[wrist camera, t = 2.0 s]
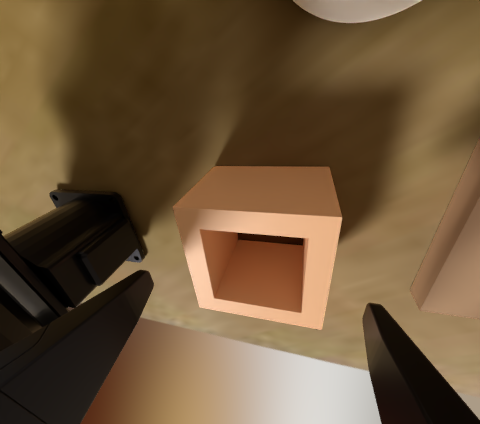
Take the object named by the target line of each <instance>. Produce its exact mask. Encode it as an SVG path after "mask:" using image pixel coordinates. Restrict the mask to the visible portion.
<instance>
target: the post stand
mask: <svg viewBox="0 0 480 424" xmlns="http://www.w3.org/2000/svg"><path fill="white" fill-rule="evenodd" d="M410 292H411V294H412V296H413V298H414V300H415V302H416V304H417V306H418V308H419V310H420V311H426V312H433V313H439V314H446V315H453V316H460V317H467V318H473V319H480V138H479V140H478V142H477V144H476V146H475V148H474V151H473V153H472V155H471V157H470V159H469V162H468V164H467V166H466V168H465V170H464V173H463V175H462V177H461V179H460V181H459V183H458V186H457V188H456V190H455V192H454V194H453V197H452V199H451V201H450V203H449V205H448V208H447V210H446V212H445V214H444V216H443V218H442V221H441V223H440V225H439V227H438V229H437V232H436V234H435V236H434V238H433V240H432V242H431V245H430V247H429V249H428V251H427V253H426V256H425V258H424V260H423V262H422V264H421V267H420V269H419V271H418V273H417V275H416V277H415V280H414V282H413V284H412V286H411V288H410Z"/></svg>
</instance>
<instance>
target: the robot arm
mask: <svg viewBox="0 0 480 424" xmlns="http://www.w3.org/2000/svg"><path fill="white" fill-rule="evenodd" d="M50 198H51V199H52V201H53V203H54V204H55V206H56V209H54V210H52V211H50V212H48V213H46V214H44V215H43V216H41V217H39V218H37V219H35V220H33V221H31V222H29V223H27V224H26V225H24V226H22V227H20V228H18V229H16V230H14V231H12V232H10V233H8V234H7V235H5V236H2V233H3V232H2V231H1V230H0V424H80V423H81V421H82V420H83V418H84V416H85V414H86V412H87V411H88V409H89V407H90V406H91V404H92V402H93V400H94V398H95V397H96V395H97V393H98V391H99V390H100V388H101V386H102V384H103V382H104V380H105V379H106V377H107V375H108V374H109V372H110V370H111V368H112V366H113V365H114V363H115V361H116V359H117V357H118V356H119V354H120V352H121V351H122V349H123V347H124V345H125V344H126V342H127V340H128V338H129V336H130V335H131V333H132V331H133V329H134V328H135V326H136V324H137V322H138V320H139V318H140V316H141V314H142V312H143V309H144V307H145V305H146V303H147V301H148V298H149V296H150V294H151V292H152V289H153V286H154V283H153V280H152V278H151V275H150V273H149V272H148V271H146V270H138V271H137V272H135V273H133V274H131V275H130V276H128V277H126V278H125V279H123V280H121V281H120V282H118V283H116V284H115V285H113V286H111V287H110V288H108V289H106V290H105V291H103V292H101V293H100V294H98V295H96V296H95V297H93V298H91V299H89V300H88V301H86V302H84V303H83V304H81V305H79V304H80V303H81V302H82V301H83V300H84V299H85V298H86V297H87V296H88V295H89V294H90V293H91V292H92V291H93V290H94V289H95V288H96V287H97V286H101V285H102V284H103V283H104V282H105V281H106V280H107V279H108V278H109V277H110V276H111V275H112V274H113V273H114V272H115V271H116V270H117V269H118V268H119V267H120V266H121V265H122V264H123V263H124V262H125V261H131V262H142V260H143V259H144V258H145V256H144V253H143V251H142V248H141V246H140V243H139V241H138V238H137V236H136V233H135V231H134V228H133V226H132V223H131V221H130V218H129V215H128V213H127V210H126V208H125V205H124V203H123V200H122V198H121V196H120V195H119V194H117V193H115V192H97V191H74V190H54V191H52V192H50ZM78 305H79V306H78ZM77 306H78V307H77ZM68 307H72V308H74V309H73V310H71V311H69V310H68V309H67V308H68ZM363 329H364V337H365V345H366V353H367V360H368V367H369V372H370V377H371V381H372V385H373V389H374V394H375V398H376V402H377V406H378V411H379V415H380V419H381V423H382V424H480V420H479V419H478V417H477V416H476V415H475V414H474V413H473V412H472V410H471V409H470V408H469V407H468V406H467V404H466V403H465V402H464V401H463V400H462V399H461V397H460V396H459V395H458V394H457V393H456V392H455V390H454V389H453V388H452V387H451V386H450V385H449V383H448V382H447V381H446V380H445V379H444V377H443V376H442V375H441V374H440V373H439V372H438V370H437V369H436V368H435V367H434V366H433V365H432V363H431V362H430V361H429V360H428V359H427V358H426V356H425V355H424V354H423V353H422V352H421V350H420V349H419V348H418V347H417V346H416V345H415V343H414V342H413V341H412V340H411V339H410V338H409V336H408V335H407V334H406V333H405V332H404V331H403V329H402V328H401V327H400V326H399V325H398V323H397V322H396V321H395V320H394V319H393V318H392V316H391V315H390V314H389V313H388V312H387V311H386V309H385V308H384V307H383V306H382V305H380V304H375V303H368V304H367V306H366V309H365V312H364V315H363Z"/></svg>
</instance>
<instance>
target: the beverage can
mask: <svg viewBox="0 0 480 424" xmlns="http://www.w3.org/2000/svg"><path fill="white" fill-rule="evenodd" d="M293 1H294V2H295V3H296V4H297V5H298V6H300V7H301V8H302V9H304V10H305V11H307V12H309V13H311V14H313V15H315V16H317V17H319V18H322V19H325V20H329V21H333V22H340V23H360V22H368V21H373V20H377V19H381V18H384V17H387V16H390V15H393V14H396V13H398V12H400V11H403V10H405V9H407V8H409V7H411V6H413V5H415V4H417V3H418V2H420V1H422V0H293Z"/></svg>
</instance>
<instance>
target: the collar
mask: <svg viewBox="0 0 480 424" xmlns="http://www.w3.org/2000/svg"><path fill="white" fill-rule="evenodd" d="M173 211H174V215H175V218H176V222H177V226H178V229H179V233H180V237H181V240H182V244H183V248H184V251H185V255H186V259H187V263H188V266H189V270H190V274H191V277H192V281H193V285H194V288H195V292H196V296H197V299H198V303H199V307H201V308H206V309H211V310H217V311H222V312H228V313H233V314H238V315H244V316H249V317H255V318H260V319H266V320H271V321H276V322H282V323H287V324H293V325H298V326H303V327H309V328H314V329H320V330H322V326H323V320H324V315H325V310H326V304H327V299H328V293H329V288H330V282H331V277H332V271H333V266H334V260H335V255H336V250H337V244H338V239H339V233H340V228H341V222H342V214H341V210H340V206H339V202H338V198H337V194H336V191H335V187H334V183H333V179H332V175H331V171H330V167H296V166H214V167H213V168H212V169H211V170H210V171H209V172H208V173H207V174H206V175H205V176H204V177H203V178H202V179H201V180H200V181H199V182H198V183H197V184H196V185H195V186H194V187H193V188H192V189H191V190H189V191H188V192H187V193H186V194H185V195H184V196H183V197H182V198H181V199H180V200H179V201H178V202H177V203H176V204H175V205H174V206H173ZM238 233H250V234H262V235H273V236H285V237H297V238H303V246H301V245H290V244H280V243H269V242H259V241H248V240H238Z"/></svg>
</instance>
